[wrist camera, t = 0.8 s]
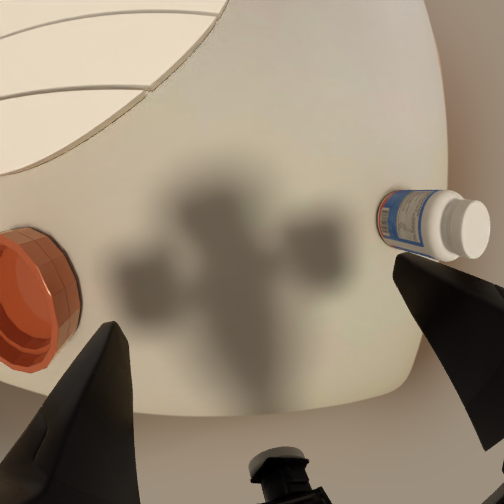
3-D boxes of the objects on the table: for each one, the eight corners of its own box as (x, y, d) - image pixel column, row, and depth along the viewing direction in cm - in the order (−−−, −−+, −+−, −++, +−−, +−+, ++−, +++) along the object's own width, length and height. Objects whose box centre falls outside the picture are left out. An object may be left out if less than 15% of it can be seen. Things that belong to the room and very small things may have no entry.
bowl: (74, 363, 21) (55, 393, 16) (-9, 316, 19) (-36, 334, 14) (94, 254, 20) (67, 268, 15) (1, 211, 17) (-33, 215, 13)
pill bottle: (425, 216, 24) (501, 228, 15) (398, 258, 24) (474, 285, 15) (395, 177, 23) (476, 174, 14) (364, 221, 23) (446, 236, 14)
